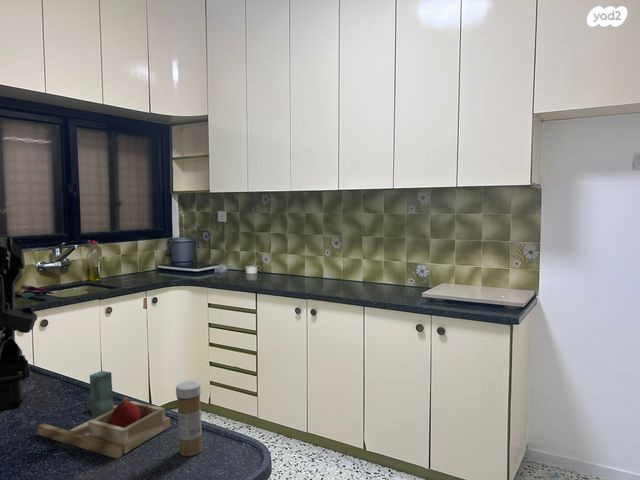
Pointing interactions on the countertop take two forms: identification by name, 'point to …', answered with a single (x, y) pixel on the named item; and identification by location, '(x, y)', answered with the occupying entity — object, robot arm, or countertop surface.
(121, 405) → the onion
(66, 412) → the countertop surface
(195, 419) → the sprinkles bottle
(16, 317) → the robot arm
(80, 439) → the guide rails
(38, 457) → the countertop surface
